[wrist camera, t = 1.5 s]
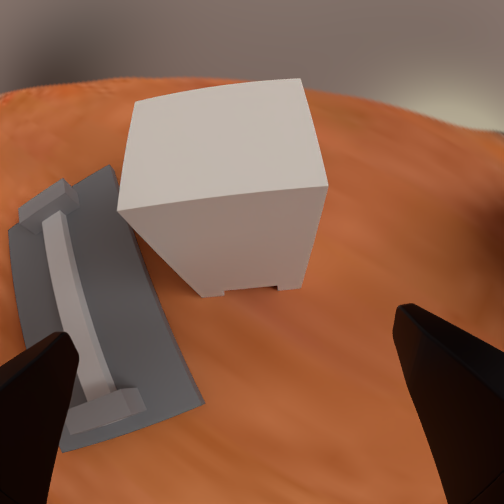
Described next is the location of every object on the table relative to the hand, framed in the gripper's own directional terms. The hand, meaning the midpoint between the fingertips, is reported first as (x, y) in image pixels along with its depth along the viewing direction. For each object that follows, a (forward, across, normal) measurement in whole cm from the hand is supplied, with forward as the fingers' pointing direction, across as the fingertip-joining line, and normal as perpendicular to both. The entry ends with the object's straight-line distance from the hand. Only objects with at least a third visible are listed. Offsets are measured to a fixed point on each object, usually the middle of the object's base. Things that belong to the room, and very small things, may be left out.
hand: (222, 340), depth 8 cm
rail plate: (+12, +13, +6) cm, 18 cm away
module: (+14, 0, +4) cm, 14 cm away
